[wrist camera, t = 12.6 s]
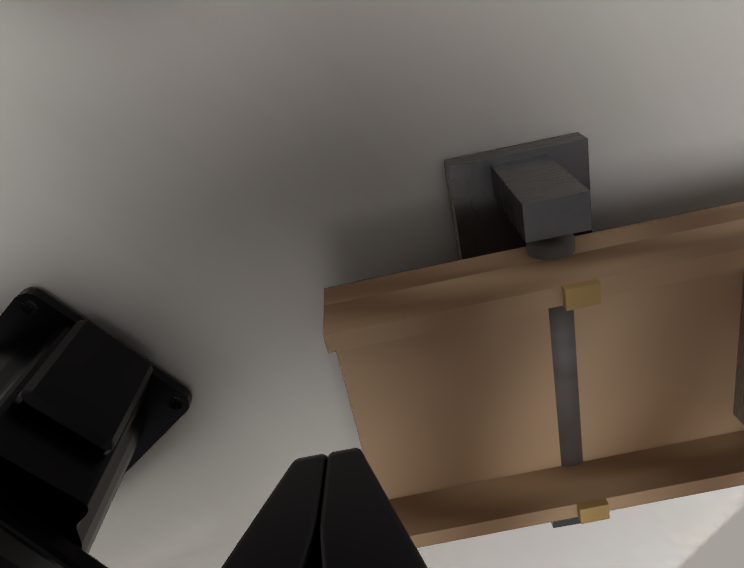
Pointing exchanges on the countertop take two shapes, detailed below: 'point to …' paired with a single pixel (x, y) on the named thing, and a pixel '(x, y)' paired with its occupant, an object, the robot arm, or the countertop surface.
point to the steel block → (740, 369)
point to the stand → (520, 199)
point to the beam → (549, 376)
